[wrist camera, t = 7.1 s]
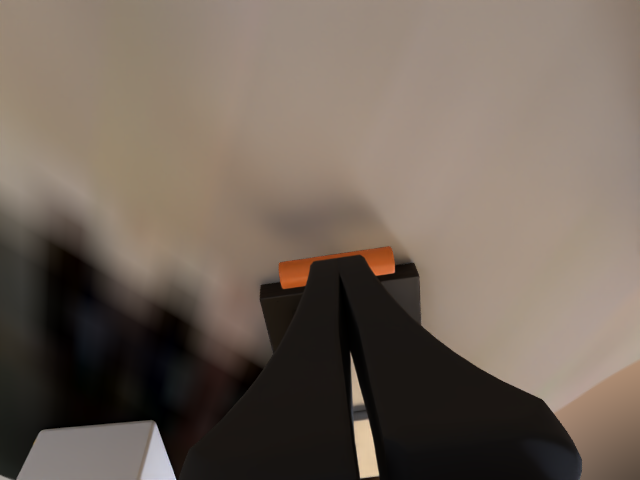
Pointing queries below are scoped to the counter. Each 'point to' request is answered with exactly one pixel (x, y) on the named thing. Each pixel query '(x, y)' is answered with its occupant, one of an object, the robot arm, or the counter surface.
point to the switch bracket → (284, 302)
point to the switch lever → (297, 276)
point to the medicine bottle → (99, 453)
